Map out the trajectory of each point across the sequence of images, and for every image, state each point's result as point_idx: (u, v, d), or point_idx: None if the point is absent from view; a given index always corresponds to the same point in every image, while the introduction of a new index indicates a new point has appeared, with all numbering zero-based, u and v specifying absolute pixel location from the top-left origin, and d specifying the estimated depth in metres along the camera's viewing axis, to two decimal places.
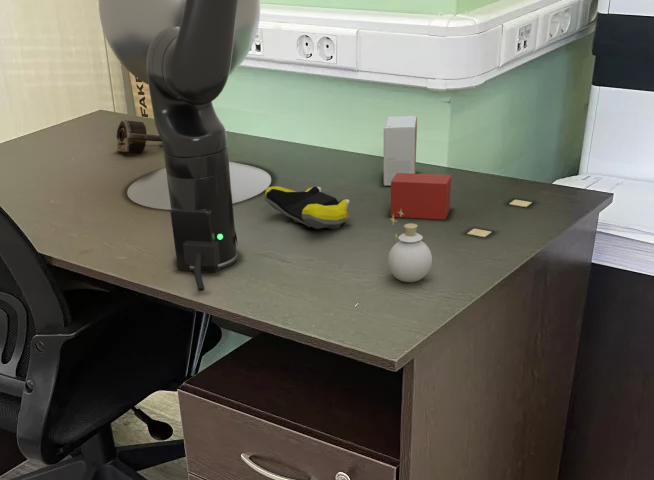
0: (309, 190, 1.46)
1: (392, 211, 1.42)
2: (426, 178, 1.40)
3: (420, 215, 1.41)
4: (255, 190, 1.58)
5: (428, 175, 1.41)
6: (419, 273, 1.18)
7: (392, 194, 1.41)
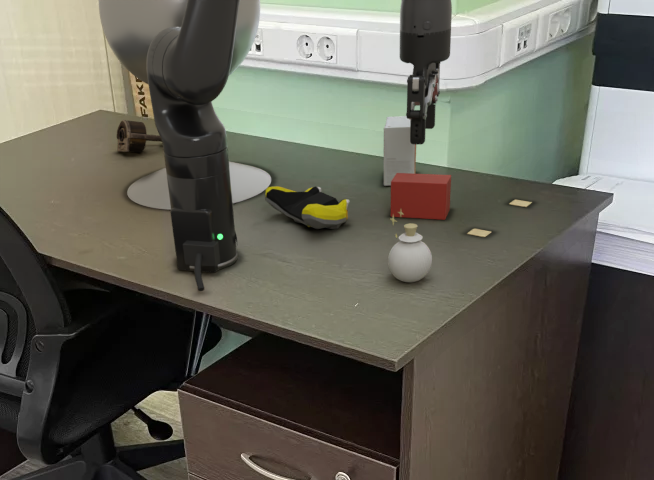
0: (309, 190, 1.46)
1: (392, 211, 1.42)
2: (426, 178, 1.40)
3: (420, 215, 1.41)
4: (255, 190, 1.58)
5: (428, 175, 1.41)
6: (419, 273, 1.18)
7: (392, 194, 1.41)
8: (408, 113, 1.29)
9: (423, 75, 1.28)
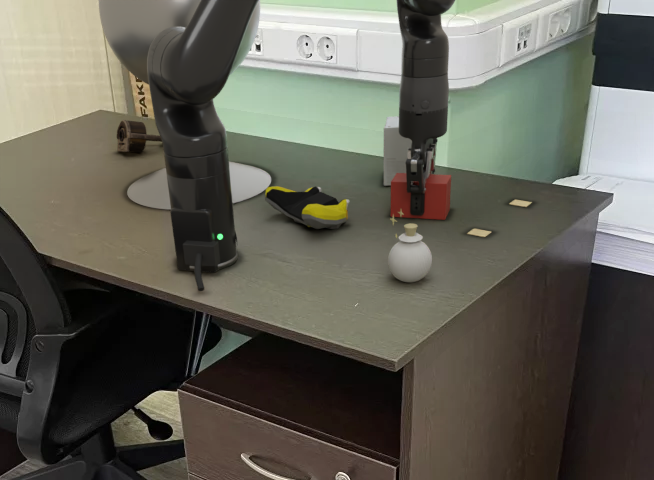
0: (309, 190, 1.46)
1: (392, 211, 1.42)
2: None
3: None
4: (255, 190, 1.58)
5: None
6: (419, 273, 1.18)
7: (392, 194, 1.41)
8: (408, 189, 1.36)
9: (421, 150, 1.34)
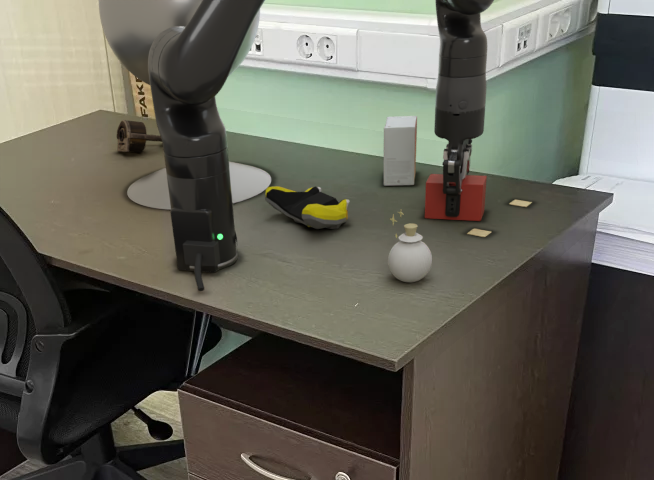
0: (309, 190, 1.46)
1: (426, 212, 1.41)
2: None
3: None
4: (255, 190, 1.58)
5: None
6: (419, 273, 1.18)
7: (427, 195, 1.39)
8: (444, 191, 1.34)
9: (458, 151, 1.32)
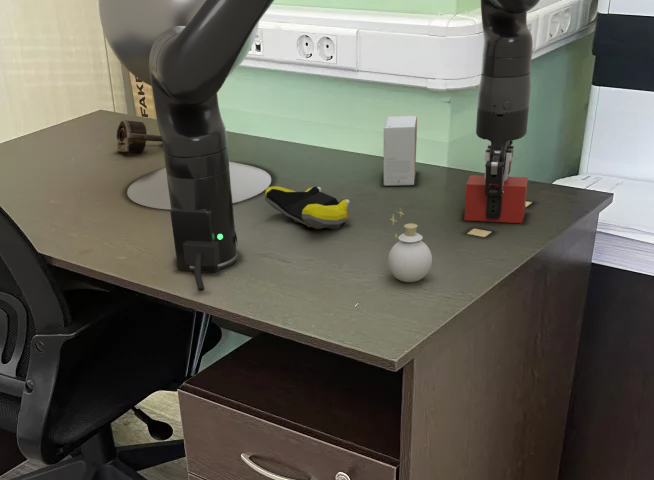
0: (309, 190, 1.46)
1: (466, 214, 1.39)
2: None
3: None
4: (255, 190, 1.58)
5: None
6: (419, 273, 1.18)
7: (467, 197, 1.37)
8: (486, 192, 1.32)
9: (501, 152, 1.30)
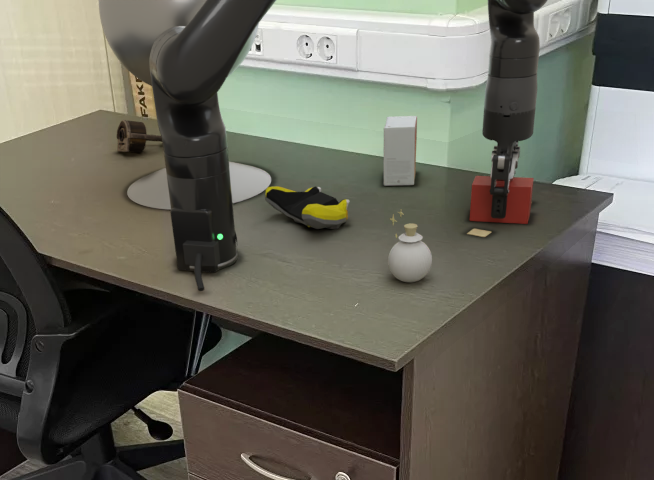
0: (309, 190, 1.46)
1: (471, 215, 1.38)
2: None
3: (501, 219, 1.37)
4: (255, 190, 1.58)
5: None
6: (419, 273, 1.18)
7: (472, 198, 1.37)
8: (492, 190, 1.30)
9: (507, 153, 1.29)
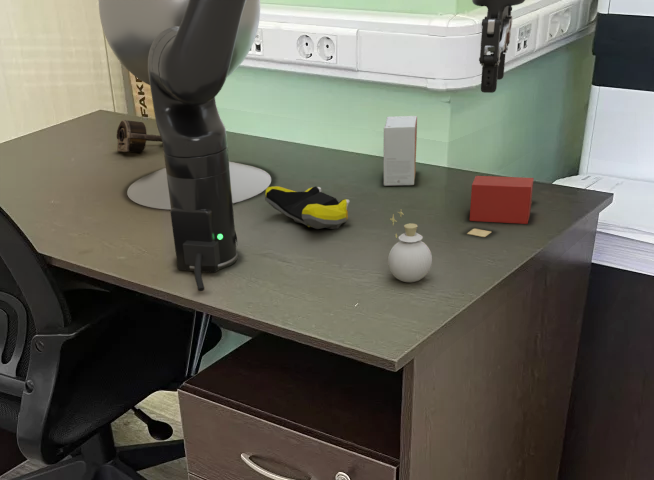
0: (309, 190, 1.46)
1: (471, 215, 1.38)
2: (508, 181, 1.36)
3: (501, 219, 1.37)
4: (255, 190, 1.58)
5: (509, 178, 1.37)
6: (419, 273, 1.18)
7: (472, 198, 1.37)
8: (481, 58, 1.23)
9: (498, 18, 1.23)
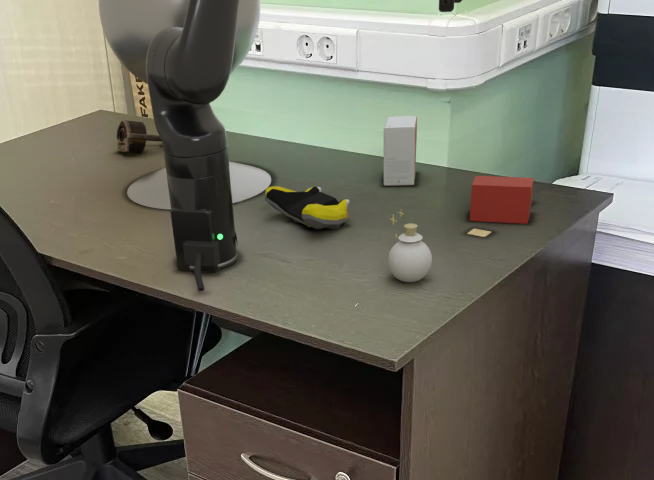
0: (309, 190, 1.46)
1: (471, 215, 1.38)
2: (508, 181, 1.36)
3: (501, 219, 1.37)
4: (255, 190, 1.58)
5: (509, 178, 1.37)
6: (419, 273, 1.18)
7: (472, 198, 1.37)
8: None
9: None
